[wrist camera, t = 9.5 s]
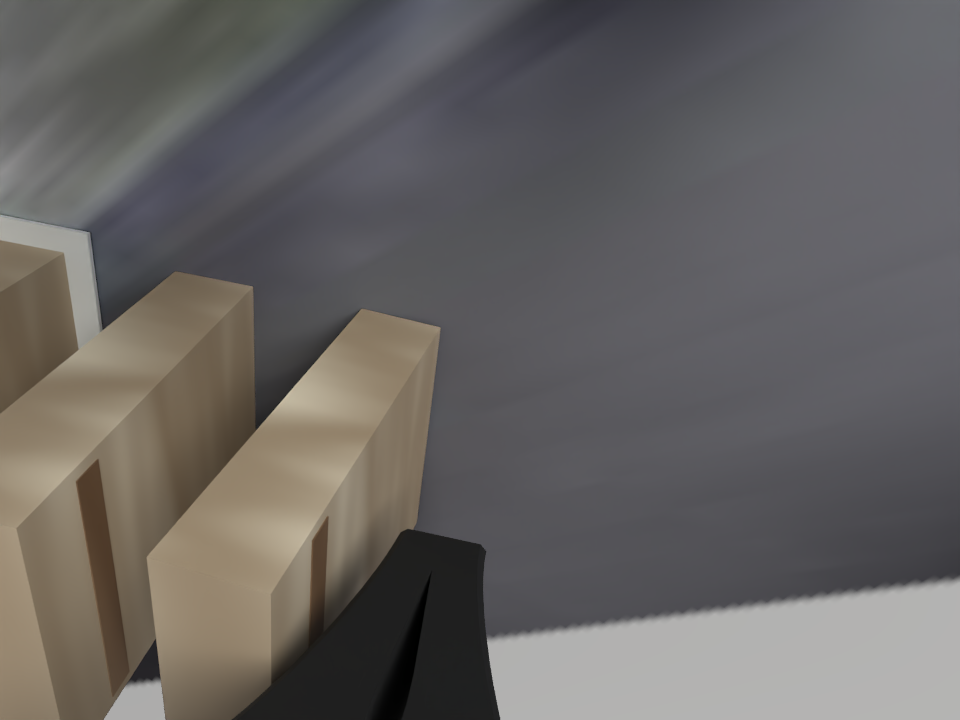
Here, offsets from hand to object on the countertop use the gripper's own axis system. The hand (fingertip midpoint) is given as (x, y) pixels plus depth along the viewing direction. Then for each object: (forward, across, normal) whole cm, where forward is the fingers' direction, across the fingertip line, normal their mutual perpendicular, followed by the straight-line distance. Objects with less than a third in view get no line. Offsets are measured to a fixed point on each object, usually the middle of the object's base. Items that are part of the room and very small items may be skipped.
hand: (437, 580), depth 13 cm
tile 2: (+4, +6, 0) cm, 7 cm away
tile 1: (+4, +2, 0) cm, 4 cm away
